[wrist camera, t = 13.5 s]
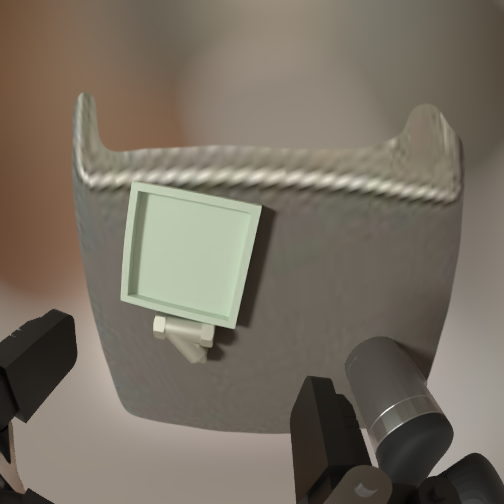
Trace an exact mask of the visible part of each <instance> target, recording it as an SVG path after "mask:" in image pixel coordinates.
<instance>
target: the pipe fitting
mask: <svg viewBox="0 0 504 504" xmlns="http://www.w3.org/2000/svg"><path fill="white" fill-rule="evenodd" d="M215 327H216V325H214V324H209V323H205V322H201V321H196V320H192V319H188V318H184V317H180V316H176V315H172V314H168V313H165V312H161V311H158V312H157V313H156V316H155V319H154V325H153V333H154V336H155V338H159V339H166V338H168V339H169V340H170V341H171V342H172V343H173V344H174V345H175V346H176V348H177V349H178V350H179V351H180V352H181V353H182V354H183V355H184V356H185V357H186V358H187V359H188V360H189V361H190V362H191V363H196V362H197V363H201V362H202V363H205V362H206V361H207V352H208V347H210V348H211V347H212V346H213V341H214V335H215Z"/></svg>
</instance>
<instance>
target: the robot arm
mask: <svg viewBox="0 0 504 504" xmlns="http://www.w3.org/2000/svg"><path fill="white" fill-rule="evenodd" d="M76 359H77V344H76V335H75V323H74V319H73V317H72V316H71V315H69V314H66V313H63V312H61V311H59V310H56V309H52V310H50V311H49V312H48V313H46V314H45V315H44V316H42V317H39V318H36V319H33V320H31V321H28V322H27V323H25V324H24V325H22V326H21V327H20V328H19V329H18V330H16V331H15V332H13V333H12V334H11V336H10V335H9V336H8V337H7V338H6V339H4V340H3V341H1V342H0V504H54V503H52V502H51V501H49V500H47V499H45V498H44V497H42V496H40V495H39V494H37V493H36V492H34V491H32V490H31V489H29V488H28V489H27V491H26V492H25V489H24V487H23V484H22V482H21V480H20V477H19V475H18V472H17V466H16V459H15V449H14V438H13V426H12V422H11V420H12V419H13V417H14V416H15V417H17V418H18V419H20V420H21V421H23V422H25V423H27V421H28V420H29V419H30V418H31V416H32V415H33V414H34V413H35V412H36V410H37V409H38V408H39V406H40V405H41V404H42V403H43V402H44V401H45V399H46V398H47V397H48V396H49V394H50V393H51V392H52V391H53V390H54V389H55V387H56V386H57V385H58V384H59V383H60V381H61V380H62V379H63V378H64V377H65V376H66V375H67V373H68V372H69V371H70V370H71V369H72V368H73V366H74V364H75V362H76ZM345 372H346V375H347V378H348V380H349V383H350V386H351V389H352V391H353V394H354V397H355V399H356V402H357V405H358V407H359V410H360V413H361V416H362V418H363V421H364V424H365V427H366V430H367V432H368V435H369V438H370V441H371V444H372V446H373V449H374V452H375V455H376V459H377V462H378V466H379V468H376V467H374V466H372V464H371V461H370V458H369V454H368V451H367V448H366V445H365V442H364V439H363V436H362V433H361V430H360V429H359V424H358V421H357V419H356V415H355V412H354V409H353V406H352V404H351V403H350V402H349V401H348V400H347V399H346V397H345V396H344V395H343V394H336V392H335V389H334V386H333V382H332V380H331V379H330V378H323V377H315V376H307V377H306V379H305V381H304V383H303V385H302V388H301V390H300V393H299V395H298V397H297V400H296V402H295V404H294V406H293V409H292V412H291V417H290V431H291V443H292V454H293V467H294V479H295V493H296V504H504V485H503V483H502V480H501V479H500V477H499V475H498V474H497V472H496V470H495V468H494V467H493V466H492V464H491V463H490V462H489V461H488V460H487V459H486V458H485V457H484V456H483V455H481V454H479V453H471V454H469V455H467V456H465V457H464V458H463V459H461V460H460V461H458V462H457V463H455V464H454V465H452V466H451V467H449V468H448V469H447V470H445V471H443V472H442V473H441V474H439V475H437V476H432V477H428V475H429V474H430V472H431V470H432V469H433V467H434V466H435V465H436V464H437V462H438V461H439V460H440V459H441V458H442V456H443V455H444V454H445V453H446V451H447V450H448V448H449V447H450V445H451V443H452V440H453V434H454V433H453V428H452V426H451V424H450V422H449V421H448V419H447V418H446V416H445V415H444V413H443V412H442V410H441V408H440V407H439V405H438V404H437V402H436V401H435V399H434V398H433V396H432V395H431V394H430V392H429V390H428V389H427V387H426V386H427V380H426V379H425V378H424V376H423V375H422V373H421V372H420V370H419V369H418V368H417V366H416V365H415V363H414V362H413V361H412V359H411V358H410V356H409V355H408V354H407V352H406V351H405V350H404V348H402V347H398V345H397V344H396V343H395V341H393V340H392V339H390V338H388V337H374V338H370V339H368V340H365V341H363V342H362V343H360V344H359V345H358V346H356V347H355V348H354V349H353V350H352V352H351V353H350V354H349V356H348V358H347V360H346V363H345ZM427 477H428V478H427Z"/></svg>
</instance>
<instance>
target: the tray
mask: <svg viewBox="0 0 504 504" xmlns="http://www.w3.org/2000/svg"><path fill="white" fill-rule="evenodd" d="M261 208H262V205H261V204H256V203H251V202H247V201H242V200H237V199H232V198H228V197H223V196H218V195H213V194H208V193H203V192H197V191H192V190H187V189H181V188H176V187H171V186H165V185H159V184H153V183H148V182H142V181H132V186H131V193H130V200H129V207H128V215H127V223H126V232H125V242H124V253H123V266H122V283H121V300H122V301H125V302H128V303H132V304H135V305H139V306H142V307H146V308H150V309H153V310H157V311H161V312H165V313H168V314H172V315H176V316H180V317H184V318H188V319H192V320H196V321H201V322H205V323H209V324H214V325H218V326H222V327H227V328H232V329H235V325H236V321H237V316H238V312H239V307H240V303H241V298H242V294H243V289H244V285H245V280H246V276H247V271H248V267H249V262H250V258H251V253H252V249H253V244H254V240H255V235H256V231H257V226H258V222H259V217H260V213H261Z"/></svg>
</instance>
